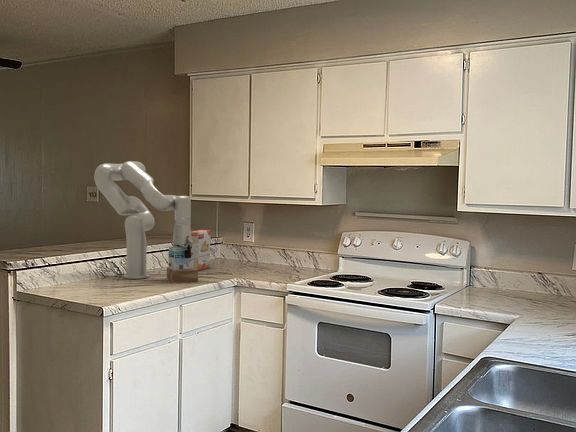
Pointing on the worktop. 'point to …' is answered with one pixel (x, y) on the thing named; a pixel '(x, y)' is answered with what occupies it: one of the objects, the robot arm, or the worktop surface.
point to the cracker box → (201, 248)
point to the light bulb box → (180, 258)
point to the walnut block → (182, 275)
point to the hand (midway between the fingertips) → (182, 257)
